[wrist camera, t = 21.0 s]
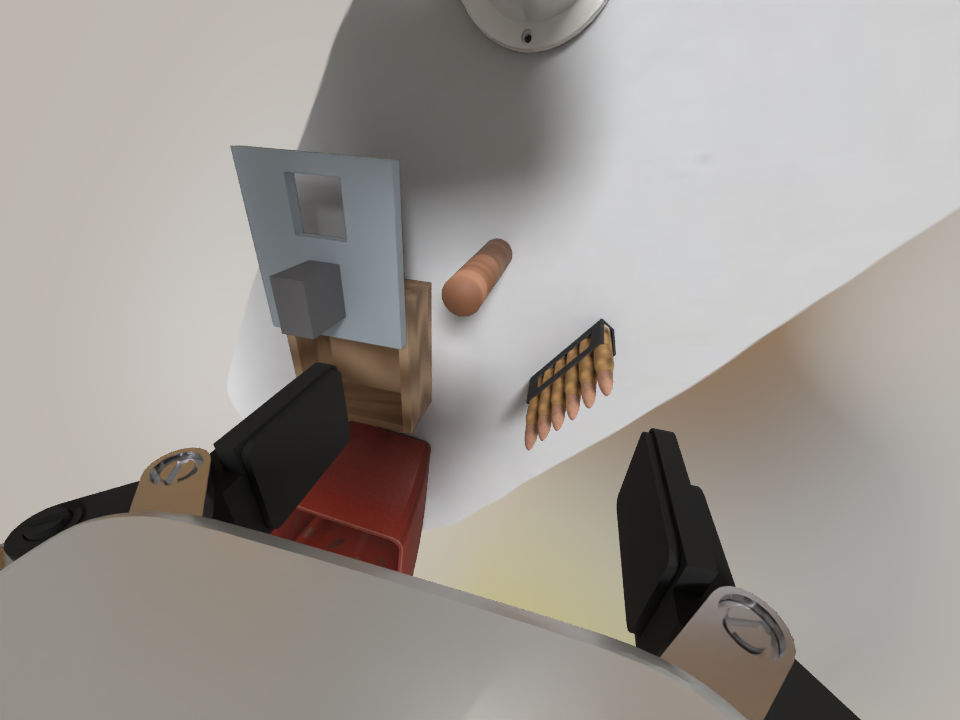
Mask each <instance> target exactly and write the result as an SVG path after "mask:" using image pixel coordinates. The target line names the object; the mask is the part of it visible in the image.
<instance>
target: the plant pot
mask: <svg viewBox="0 0 960 720" xmlns="http://www.w3.org/2000/svg"><path fill="white" fill-rule="evenodd" d="M349 428H350V439H349V442H348V443H347V445H346V446H345V447H344V449H343V450H342V451H341V452H340V454H339V455H338V456H337V457H336V459H335V460H334V461H333V462H332V464H331V465H330V466H329V467H328V469H327V470H326V471H325V472H324V474H323V475H322V476H321V477H320V479H319V480H318V481H317V482H316V484H315V485H314V486H313V487H312V489H311V490H310V491H309V492H308V494H307V495H306V496H305V497H304V499H303V500H302V501H301V502H300V504H299V505H298V506H297V507H296V509H295V510H294V511H293V512H292V514H291V515H290V516H289V517H288V519H287V520H286V521H285V522H284V524H283V525H282V526H281V527H279V528H278V529H274V530H273V531H272V533H271V534H270V535H273V536H277V537H280V538H284V539H287V540H291V541H294V542H298V543H301V544H305V545H308V546H312V547H315V548H318V549H322V550H325V551H329V552H332V553H336V554H339V555H343V556H346V557H349V558H353V559H356V560H360V561H363V562H366V563H370V564H373V565H377V566H380V567H383V568H387V569H390V570H394V571H397V572H400V573H404V574H407V575H410V576H413V571H414V568H415V563H416V558H417V553H418V548H419V543H420V537H421V531H422V525H423V518H424V510H425V502H426V490H427V481H428V471H429V461H430V452H431V448H430V446H429V444H428V443H426V442H424V441H421V440H418V439H415V438H411V437H408V436H405V435H402V434H398V433H395V432H392V431H388V430H385V429H382V428H379V427H375V426H372V425H368V424H364V423H360V422H355V421H349Z"/></svg>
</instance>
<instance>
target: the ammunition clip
mask: <svg viewBox="0 0 960 720" xmlns="http://www.w3.org/2000/svg"><path fill="white" fill-rule="evenodd" d="M615 355H616V351H615V336H614V329H613V328H612V327H611V326H610V325H608V324H607V323H606V322H605V321H604V320H603V319H600V320H599V321H598V322H597V323H596V324H594V325H593V326H592V327H591V328H590V329H588V330H587V331H586V332H585V333H584V334H582V335H581V336H580V337H579V338H578V339H577V340H575V341H574V342H573V343H572V344H571V345H569V346H568V347H567V348H566V349H565V350H563V351H562V352H561V353H560V354H559V355H557V356H556V357H555V358H554V359H553V360H552V361H550V362H549V363H548V364H547V365H546V366H544V367H543V368H542V369H541V370H540V371H538V372H537V373H536V374H535V375H534V376H532V377H531V380H530V385H529V390H528V395H527V400H526V403H527V404H529V405H528V410H527V415H526V430H525V446H526V448H527V450H530V449H531V448H532V447H533V445H534V443H535V441H536V439H537V435H538V434H539V437H540V440H541V441H543V440H544V439H545V438H546V437H547V435H548V433H549V431H550V427H551V422H552V424H553V427H554V429H555V430H556V431H558V430H559V429H560V427H561V426H562V424H563V421H564V417H565V412H566V410H567V413H568V416H569V418H570V419H571V420H573V419H575V417H576V416H577V414H578V411H579V406H580V398H581V394H582V399H583V402H584V404H585V406H586V407H587V408H591V407H592V405H593V403H594V401H595V396H596V384H597V380H598V384H599V387H600V390H601V391H602V393H603V394H604V395H605V396H608V395H609V394H610V392H611V390H612V386H613V369H614V361H613V356H615Z"/></svg>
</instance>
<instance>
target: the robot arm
mask: <svg viewBox="0 0 960 720" xmlns="http://www.w3.org/2000/svg"><path fill="white" fill-rule="evenodd" d="M461 1H462V3H463V5H464V7H465V9H466V11H467V13H468V14H469V16H470V17H471V19H472V20H473V21H474V23H475V24H476V25H477V26H478V27H479V29H480V30H481V31H482V32H483V33H484V34H485V35H486V36H487V37H488V38H490V39H491V40H493V41H494V42H496V43H497V44H499V45H500V46H502V47H505V48H508V49H511V50H513V51H517V52H527V53H534V52H540V51H547V50H549V49H552V48H555V47H557V46H560V45H562V44H564V43H565V42H567V41H569V40H570V39H572V38H573V37H575V36H576V35H578V34H579V33H580V32H581V31H582V30H583V29H584V28H585V27H587V26H588V25H589V24H590V23H591V22H592V21H593V20H594V19H595V17H596V16H597V15H598V13H599V12H600V11H601V10H602V8H603V7H604V6H605V5H606V3H607V2H608V0H461ZM528 35H530V36H531V37H532V39H531V41H530V42H529V43H526V42H525V39H526V37H527V36H528ZM349 439H350V428H349V421H348V414H347V408H346V401H345V394H344V388H343V381H342V375H341V372H340V371H338V370H337V367H336V366H335V365H331V364H326V363H321V362H316V363H314V364H313V365H312V366H310V367H309V368H308V369H307V370H305V371H304V372H303V373H302V374H300V375H299V376H298V377H297V378H295V379H294V380H293V381H292V382H290V383H289V384H288V385H287V386H285V387H284V388H283V389H282V390H280V391H279V392H278V393H277V394H275V395H274V396H273V397H272V398H270V399H269V400H268V401H267V402H265V403H264V404H263V405H262V406H260V407H259V408H258V409H257V410H255V411H254V412H253V413H252V414H250V415H249V416H248V417H247V418H245V419H244V420H243V421H242V422H240V423H239V424H238V425H237V426H235V427H234V428H233V429H232V430H230V431H229V432H228V433H227V434H225V435H224V436H223V437H222V438H221V439H219V440H218V441H217V442H215V443H214V447H215V450H214V451H212V452H211V453H210V454H209V453H208V452H207V451H206V450H203V449H201V448H186V449H180V450H177V451H174V452H171V453H169V454H166V455H164V456H162V457H160V458H159V459H157V460H156V461H154V462H153V463H151V464H150V465H149V466H148V467H147V468H146V469H145V471H144V472H143V474H142V476H141V478H140V481H138V482H134V483H131V484H127V485H124V486H120V487H117V488H113V489H110V490H107V491H103V492H99V493H96V494H92V495H89V496H86V497H82V498H79V499H75V500H72V501H68V502H65V503H61V504H58V505H55V506H53V507H50V508H47V509H45V510H43V511H41V512H39V513H37V514H35V515H33V516H31V517H30V518H28V519H27V520H25V521H24V522H22V523H21V524H20V525H19V526H18V527H17V528H15V529H14V530H13V531H12V532H11V533H10V535H9V536H8V538H7V539H6V540H5V543H3V544H0V720H860V719H859V718H858V717H857V716H856V715H855V714H854V713H853V712H852V711H851V710H849V708H847V707H846V706H845V705H844V704H843V703H842V702H841V701H840V700H838V698H837V697H835V696H834V695H833V694H832V693H831V692H830V691H829V690H828V689H827V688H826V687H825V686H824V685H823V684H822V683H820V682H819V681H818V680H817V679H816V678H815V677H814V676H813V675H812V674H811V673H810V672H809V671H808V670H806V669H805V668H804V667H803V666H802V665H801V664H800V663H799V662H798V661H797V660H796V659H795V654H796V649H795V644H794V639H793V637H792V635H791V633H790V631H789V629H788V627H787V626H786V624H785V623H784V621H783V620H782V619H781V617H780V616H779V615H778V613H777V612H776V611H774V610H773V609H772V608H771V607H770V606H769V605H768V604H767V603H766V602H765V601H763V600H762V599H760V598H759V597H757V596H756V595H754V594H753V593H751V592H748V591H746V590H743V589H741V588H738V587H735V584H734V581H733V578H732V575H731V572H730V569H729V566H728V563H727V560H726V558H725V555H724V551H723V549H722V546H721V543H720V540H719V537H718V534H717V531H716V528H715V525H714V523H713V520H712V516H711V513H710V511H709V508H708V505H707V502H706V499H705V496H704V494H703V492H702V490H701V489H700V488H699V487H698V486H693V485H691V484H690V480H689V477H688V474H687V471H686V468H685V464H684V461H683V458H682V455H681V451H680V448H679V445H678V442H677V439H676V436H675V434H674V433H673V432H669V431H664V430H659V429H654V428H652V429H650V431H649V433H648V432H643V433H642V434H641V436H640V439H639V441H638V444H637V447H636V450H635V452H634V455H633V457H632V460H631V463H630V465H629V468H628V471H627V473H626V476H625V479H624V481H623V484H622V487H621V489H620V492H619V495H618V498H617V518H618V530H619V541H620V553H621V565H622V576H623V588H624V600H625V611H626V621H627V628H628V631H629V632H630V633H634V634H635V641H636V647H635V646H632V645H630V644H627V643H624V642H622V641H619V640H616V639H614V638H611V637H608V636H605V635H603V634H599V633H596V632H593V631H590V630H587V629H584V628H581V627H578V626H574V625H571V624H568V623H565V622H562V621H559V620H556V619H553V618H550V617H546V616H543V615H540V614H537V613H534V612H530V611H527V610H524V609H520V608H517V607H514V606H511V605H507V604H504V603H501V602H497V601H494V600H491V599H487V598H484V597H481V596H477V595H474V594H470V593H467V592H464V591H461V590H457V589H454V588H451V587H447V586H444V585H441V584H437V583H434V582H431V581H427V580H424V579H421V578H417V577H414V576H410V575H407V574H404V573H400V572H397V571H394V570H390V569H387V568H383V567H380V566H377V565H373V564H370V563H366V562H363V561H360V560H356V559H353V558H349V557H346V556H343V555H339V554H336V553H332V552H329V551H325V550H322V549H318V548H315V547H312V546H308V545H305V544H301V543H298V542H294V541H291V540H287V539H284V538H280V537H277V536H273V535H270V534H271V533H272V531H273V530H274V529H278V528H279V527H281V526H282V525H283V524H284V522H285V521H286V520H287V519H288V517H289V516H290V515H291V514H292V512H293V511H294V510H295V509H296V507H297V506H298V505H299V504H300V502H301V501H302V500H303V499H304V497H305V496H306V495H307V494H308V492H309V491H310V490H311V489H312V487H313V486H314V485H315V484H316V482H317V481H318V480H319V479H320V477H321V476H322V475H323V474H324V472H325V471H326V470H327V469H328V467H329V466H330V465H331V464H332V462H333V461H334V460H335V459H336V457H337V456H338V455H339V454H340V452H341V451H342V450H343V449H344V447H345V446H346V445H347V443H348V442H349Z"/></svg>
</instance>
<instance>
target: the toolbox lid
mask: <svg viewBox="0 0 960 720" xmlns="http://www.w3.org/2000/svg"><path fill="white" fill-rule="evenodd" d="M231 151H232V154H233V159H234V163H235V167H236V171H237V175H238V180H239V184H240V188H241V192H242V196H243V201H244V204H245V209H246V213H247V217H248V221H249V225H250V230H251V234H252V238H253V242H254V246H255V250H256V254H257V259H258V263H259V267H260V271H261V275H262V279H263V284H264V288H265V292H266V296H267V300H268V304H269V309H270V313H271V317H272V321H273V325H274V326H276V327H281V330H282V334H287V335H292V336H298V337H303V338H308V339H315V338H317V337H318V336H319V335H325V336H331V337H336V338H342V339H347V340H353V341H358V342H364V343H369V344H375V345H380V346H385V347H391V348H396V349H402V348H403V347H404V346H405V345H406V344H407V343H406V319H405V294H404V270H403V245H402V221H401V196H400V172H399V160H397V159H386V158H375V157H364V156H352V155H341V154H330V153H318V152H307V151H296V150H284V149H273V148H262V147H251V146H231ZM294 173H303V174H313V175H323V176H333V177H340V185H341V194H342V202H343V211H344V220H345V228H346V237H347V239H346V238H339V237H331V236H324V235H316V234H308V233H304V231H303V225H302V219H301V213H300V208H299V202H298V196H297V190H296V184H295V178H294Z"/></svg>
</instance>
